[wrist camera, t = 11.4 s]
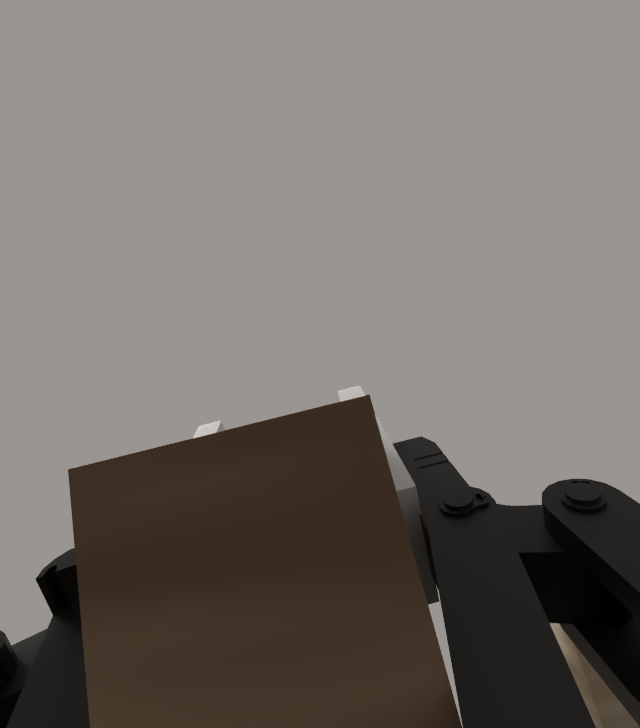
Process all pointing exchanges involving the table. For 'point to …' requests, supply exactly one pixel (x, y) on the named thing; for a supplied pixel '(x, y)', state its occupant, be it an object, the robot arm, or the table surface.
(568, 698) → the robot arm
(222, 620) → the walnut bar
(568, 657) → the birch pedestal
